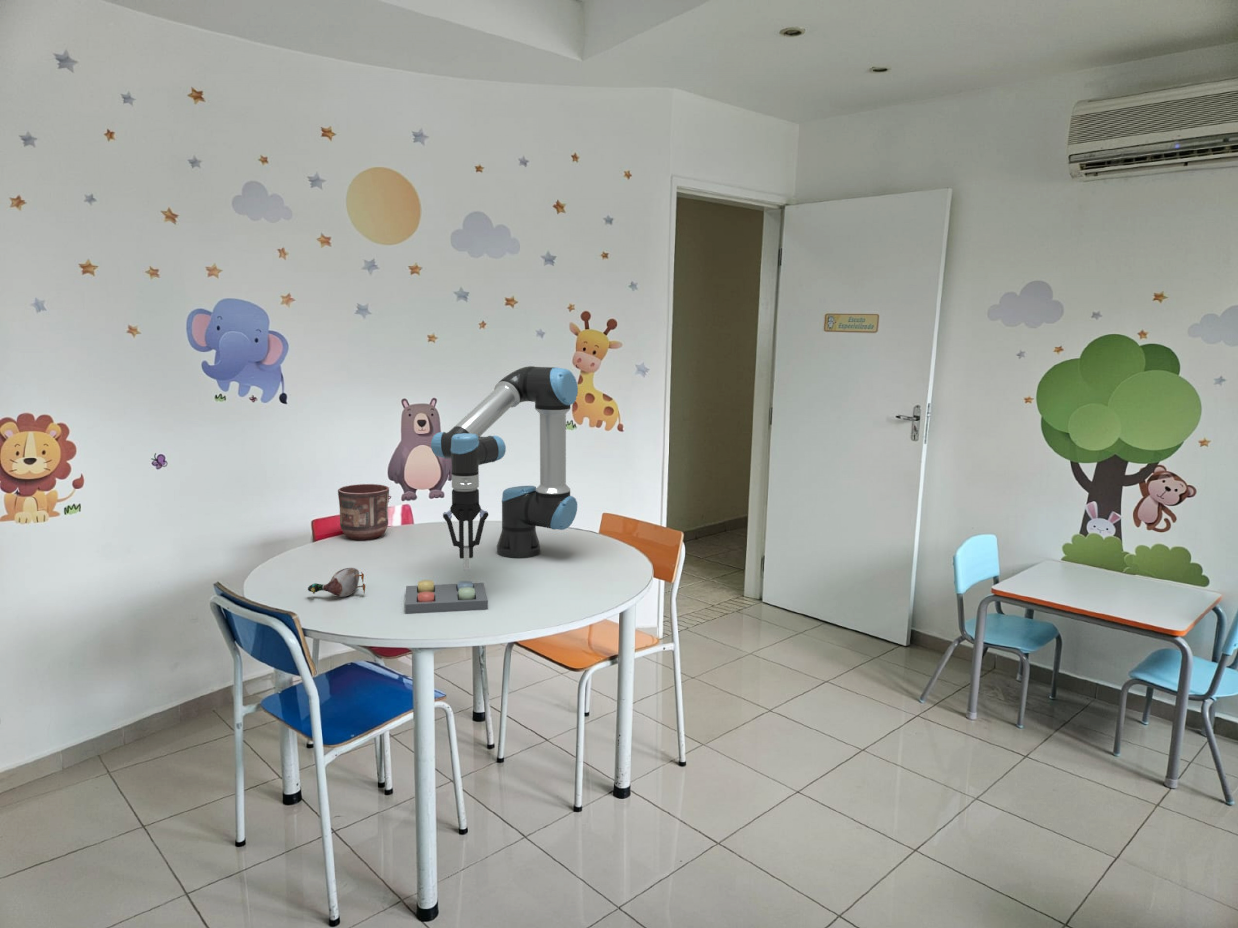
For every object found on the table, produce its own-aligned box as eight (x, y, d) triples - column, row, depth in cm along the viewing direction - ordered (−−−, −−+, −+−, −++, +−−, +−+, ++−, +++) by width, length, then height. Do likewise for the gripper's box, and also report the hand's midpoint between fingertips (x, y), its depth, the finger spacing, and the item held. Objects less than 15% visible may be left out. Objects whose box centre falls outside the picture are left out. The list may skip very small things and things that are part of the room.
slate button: (472, 591, 228) (472, 580, 228) (473, 596, 224) (473, 585, 224) (457, 592, 227) (457, 581, 227) (457, 597, 223) (457, 585, 222)
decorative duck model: (302, 580, 215) (316, 562, 230) (306, 606, 217) (320, 587, 231) (358, 575, 216) (369, 558, 231) (361, 601, 218) (372, 582, 233)
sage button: (474, 597, 221) (474, 586, 220) (475, 603, 216) (475, 591, 216) (458, 598, 219) (458, 587, 219) (459, 603, 215) (459, 592, 215)
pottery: (381, 543, 278) (380, 494, 275) (332, 541, 278) (330, 492, 275) (395, 531, 295) (395, 484, 293) (349, 529, 296) (348, 483, 293)
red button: (434, 602, 218) (434, 591, 217) (434, 607, 214) (434, 596, 213) (417, 603, 217) (417, 591, 216) (417, 608, 213) (417, 597, 212)
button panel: (483, 590, 231) (483, 582, 231) (487, 609, 216) (487, 600, 215) (406, 594, 226) (406, 585, 225) (405, 613, 210) (405, 604, 210)
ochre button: (433, 590, 226) (433, 579, 225) (434, 595, 221) (433, 584, 221) (418, 591, 224) (417, 580, 224) (417, 596, 220) (417, 585, 220)
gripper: (442, 492, 216) (443, 574, 220) (489, 490, 219) (490, 571, 223) (441, 486, 223) (442, 566, 227) (487, 485, 226) (488, 563, 230)
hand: (466, 568), depth 225 cm, fingers closed
